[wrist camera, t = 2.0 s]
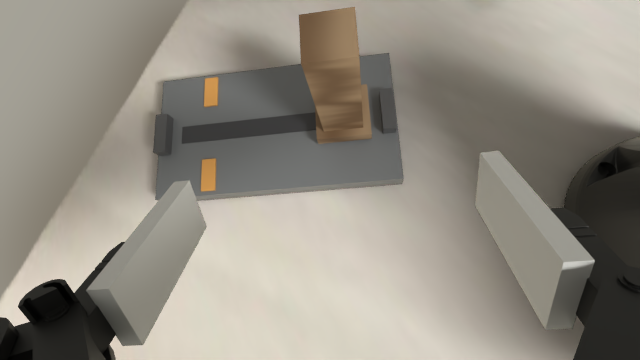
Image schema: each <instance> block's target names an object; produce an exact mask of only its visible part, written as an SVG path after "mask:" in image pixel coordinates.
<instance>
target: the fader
mask: <svg viewBox="0 0 640 360" xmlns="http://www.w3.org/2000/svg"><path fill="white" fill-rule="evenodd" d="M299 25H300V49H301V65H302V68H303V71H304V74H305V77H306V80H307V83H308V86H309V89H310V92H311V95H312V98H313V101H314V104H315V115H316V134H317V141H318V144H324V143H334V142H344V141H354V140H364V139H372V131H371V121H370V111H369V100H368V90H367V84H364V85H361V77H360V59H359V47H358V36H357V25H356V15H355V7H351V8H344V9H337V10H330V11H323V12H316V13H309V14H302V15H299Z"/></svg>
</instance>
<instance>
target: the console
mask: <svg viewBox="0 0 640 360" xmlns="http://www.w3.org/2000/svg"><path fill="white" fill-rule="evenodd" d="M359 59H360V77H361V85H364V84H367V90H368V100H369V111H370V121H371V131H372V139H364V140H354V141H344V142H334V143H324V144H318V141H317V134H316V115H315V104H314V101H313V98H312V95H311V92H310V89H309V86H308V83H307V80H306V77H305V74H304V71H303V68H302V65H301V64H298V65H291V66H283V67H275V68H267V69H259V70H251V71H243V72H236V73H228V74H220V75H212V76H204V77H196V78H188V79H181V80H173V81H165V82H164V84H163V99H162V113H161V114H160V115H156V122H155V136H154V149H153V152H154V153H156V154H157V155H158V169H157V183H156V197H155V200H158V201H159V200H160V199H161V197H162V196H163V195H164V194H165V192H166V191H167V190H168V189H169V187H170V186H171V185H172V184H173V183H174V182H177V181H188V180H189V181H190V183H191V186H192V189H193V191H194V194H195V197H196V199H197V201H201V200H214V199H226V198H238V197H250V196H262V195H274V194H286V193H298V192H310V191H323V190H335V189H347V188H359V187H371V186H383V185H395V184H402V182H403V179H404V178H403V169H402V161H401V152H400V143H399V135H398V126H397V118H396V109H395V101H394V92H393V84H392V75H391V67H390V58H389V53H385V54H377V55H369V56H361V57H359Z"/></svg>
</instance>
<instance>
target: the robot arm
mask: <svg viewBox="0 0 640 360" xmlns="http://www.w3.org/2000/svg"><path fill="white" fill-rule="evenodd" d="M475 207H476V208H477V210H478V212H479V214H480V215H481V217H482V219H483V221H484V222H485V224H486V226H487V228H488V230H489V231H490V233H491V235H492V237H493V238H494V240H495V242H496V244H497V245H498V247H499V249H500V251H501V253H502V254H503V256H504V258H505V260H506V261H507V263H508V265H509V267H510V268H511V270H512V272H513V274H514V276H515V277H516V279H517V281H518V283H519V284H520V286H521V288H522V290H523V291H524V293H525V295H526V297H527V298H528V300H529V302H530V304H531V306H532V307H533V309H534V311H535V313H536V314H537V316H538V318H539V320H540V321H541V323H542V325H543V327H544V329H545V330H554V329H572V328H573V325H574V322H575V319H576V316H578V318H579V319H580V321H581V322H582V323H583V325H584V326H585V329H584V331H583V334H582V337H581V340H580V342H579V345H578V348H577V351H576V353H575V356H574V359H573V360H640V137H636V138H633V139H629V140H627V141H624V142H621V143H619V144H617V145H615V146H613V147H611V148H609V149H607V150H605V151H603V152H602V153H600V154H598V155H596V156H595V157H593V158H592V159H591V160H589V161H588V162H587V163H586V164H585V165H584V166H583V167H582V168H581V169H580V170H579V172H578V173H577V174H576V176H575V177H574V179H573V181H572V183H571V185H570V187H569V189H568V192H567V196H566V200H565V206H564V208H555V209H550V208H549V207H548V206H547V205H546V204H545V203H544V202H543V200H542V199H541V198H540V197H539V196H538V195H537V194H536V192H535V191H534V190H533V189H532V188H531V187H530V186H529V184H528V183H527V182H526V181H525V180H524V179H523V178H522V177H521V175H520V174H519V173H518V172H517V171H516V170H515V169H514V167H513V166H512V165H511V164H510V163H509V162H508V161H507V159H506V158H505V157H504V156H503V155H502V154H501V153H500V151H491V152H480V159H479V169H478V180H477V190H476V200H475ZM206 227H207V226H206V223H205V221H204V218H203V215H202V213H201V210H200V207H199V205H198V202H197V199H196V197H195V194H194V191H193V189H192V186H191V183H190V181H189V180H188V181H177V182H174V183H173V184H172V185H171V186H170V187H169V189H168V190H167V191H166V192H165V194H164V195H163V196H162V197H161V199H160V200H159V201H158V202H157V203H156V205H155V206H154V207H153V208H152V210H151V211H150V212H149V213H148V215H147V216H146V217H145V218H144V219H143V221H142V222H141V223H140V224H139V226H138V227H137V228H136V229H135V231H134V232H133V233H132V234H131V236H130V237H129V238H128V239H127V240H126V242H121V243H120V244H119V245H117V246H116V247H115V248H113V249H112V250H111V251H109V253H108V254H107V255H106V256H105V257H104V259H103V260H102V263H99V265H98V266H97V267H96V268H95V271H93V272H92V273H91V274H90V275H89V276H88V278H87V279H86V280H85V281H84V282H83V284H82V285H81V286H80V287H79V288H78V289H77V291H76V292H75V293H73V291H72V290H71V288H70V287H69V285H68V284H67V283H66V281H65V280H62V279H56V280H51V281H48V282H45V283H43V284H41V285H39V286H37V287H35V288H34V289H32V290H31V291H30V292H29V293H27V294H26V295H25V296H24V297H23V298H22V300H21V301H20V303H19V305H18V308H19V309H20V310H21V311H22V312H23V314H24V315H25V316H26V317H27V319H28V320H29V321H30V322H28V323H25V324H21V325H18V326H15V327H14V326H13V325H12V324H11V322H10V321H9V320H8V319H7V318H1V317H0V360H116V359H115V355H114V351H113V349H112V348H111V346H110V345H109V344H110V343H111V341H112V340H113V338H114V336H115V335H116V336H117V338H118V339H119V341H120V342H121V344H122V346H130V345H143V344H144V342H145V340H146V339H147V337H148V335H149V333H150V331H151V329H152V327H153V326H154V324H155V322H156V320H157V318H158V316H159V314H160V313H161V311H162V309H163V307H164V305H165V303H166V301H167V300H168V298H169V296H170V294H171V292H172V290H173V288H174V287H175V285H176V283H177V281H178V279H179V277H180V275H181V274H182V272H183V270H184V268H185V266H186V264H187V262H188V261H189V259H190V257H191V255H192V253H193V251H194V250H195V248H196V246H197V244H198V242H199V240H200V238H201V237H202V235H203V233H204V231H205V229H206Z"/></svg>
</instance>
